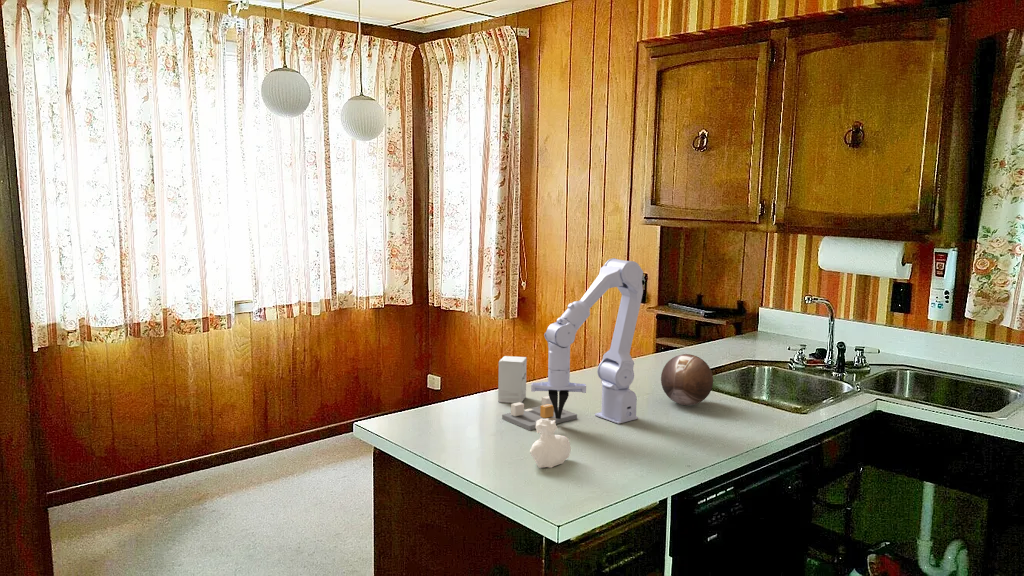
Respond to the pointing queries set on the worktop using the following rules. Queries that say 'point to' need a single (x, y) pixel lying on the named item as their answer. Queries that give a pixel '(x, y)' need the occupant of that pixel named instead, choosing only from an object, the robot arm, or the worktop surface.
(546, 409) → the breaker
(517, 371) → the supplement box
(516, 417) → the breaker panel
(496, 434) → the worktop surface
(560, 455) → the bust
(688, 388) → the brown metallic sphere
